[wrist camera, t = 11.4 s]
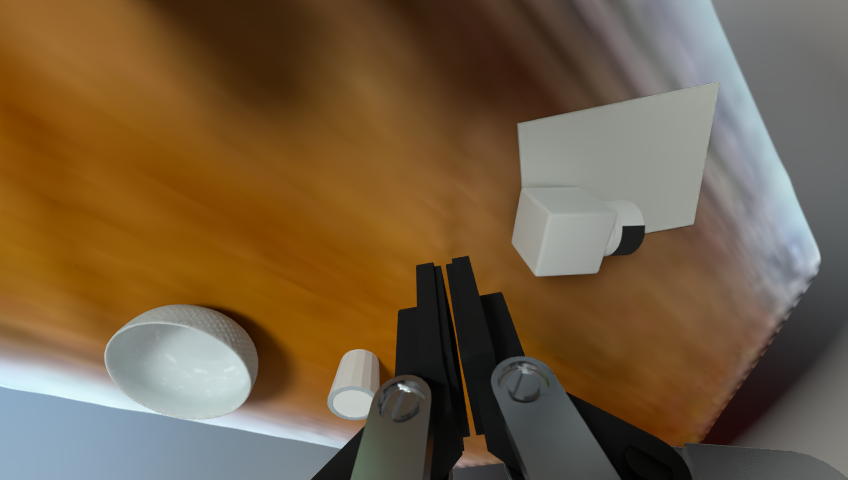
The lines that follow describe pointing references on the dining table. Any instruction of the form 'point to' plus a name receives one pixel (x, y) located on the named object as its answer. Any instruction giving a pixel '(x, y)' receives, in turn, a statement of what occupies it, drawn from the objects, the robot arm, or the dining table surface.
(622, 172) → the mat
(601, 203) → the medicine bottle
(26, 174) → the dining table surface
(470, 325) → the robot arm
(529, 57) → the dining table surface
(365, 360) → the shot glass
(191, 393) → the cereal bowl
